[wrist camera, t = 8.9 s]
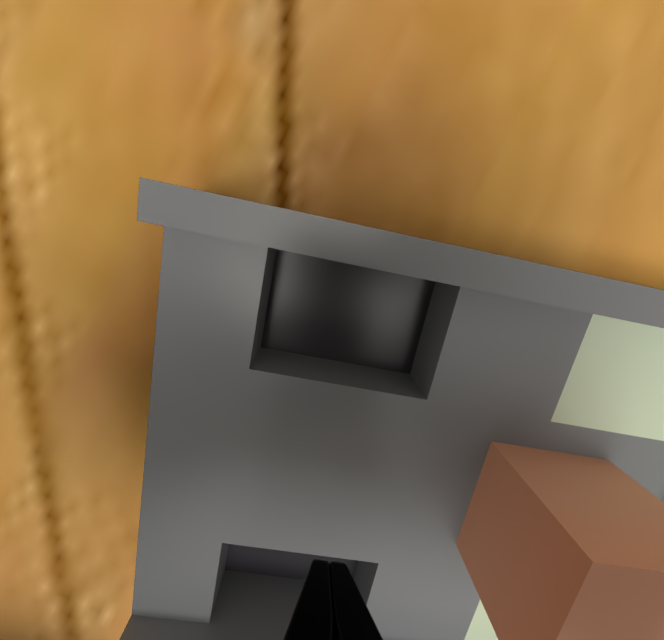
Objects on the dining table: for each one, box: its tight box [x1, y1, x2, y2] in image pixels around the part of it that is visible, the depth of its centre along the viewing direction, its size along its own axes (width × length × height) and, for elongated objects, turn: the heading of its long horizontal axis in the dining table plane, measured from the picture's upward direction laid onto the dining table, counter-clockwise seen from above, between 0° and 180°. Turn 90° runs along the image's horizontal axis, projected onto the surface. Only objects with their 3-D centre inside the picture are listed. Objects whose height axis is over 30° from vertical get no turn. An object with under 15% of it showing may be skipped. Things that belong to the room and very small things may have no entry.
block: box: [456, 441, 664, 640], centre depth 10 cm, size 4×4×4 cm
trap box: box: [120, 178, 664, 640], centre depth 13 cm, size 20×17×4 cm
